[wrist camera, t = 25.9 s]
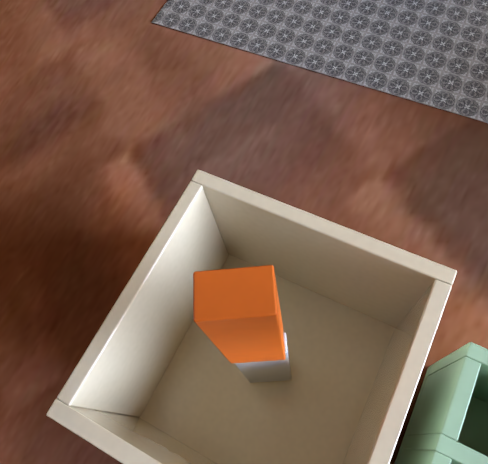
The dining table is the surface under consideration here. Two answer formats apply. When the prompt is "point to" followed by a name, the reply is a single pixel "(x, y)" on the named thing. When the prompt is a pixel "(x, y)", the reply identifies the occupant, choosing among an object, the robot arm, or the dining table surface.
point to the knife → (244, 319)
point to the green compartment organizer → (450, 412)
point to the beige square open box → (294, 325)
